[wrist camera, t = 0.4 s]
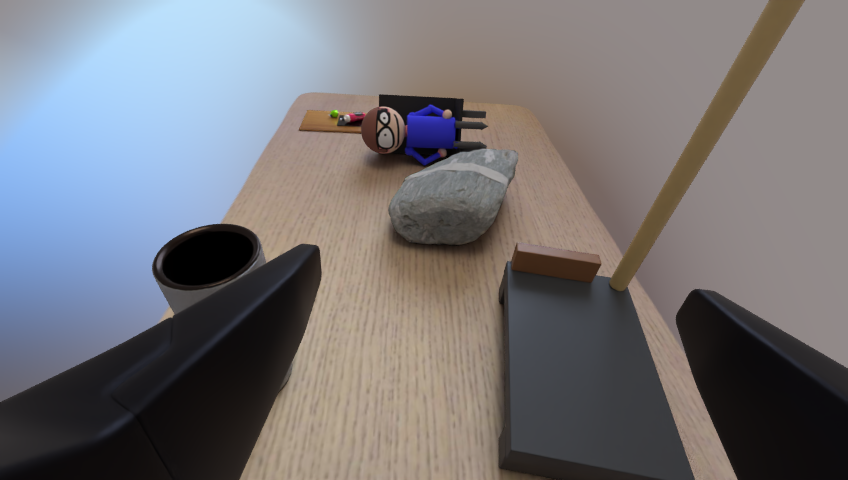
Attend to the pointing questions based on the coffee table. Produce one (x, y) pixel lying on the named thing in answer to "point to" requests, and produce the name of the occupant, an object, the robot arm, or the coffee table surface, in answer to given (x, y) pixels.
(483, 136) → the coffee table surface
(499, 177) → the decorative stone
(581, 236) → the coffee table surface
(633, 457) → the stand with wooden pole
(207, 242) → the planter
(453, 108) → the character figurine
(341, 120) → the board
